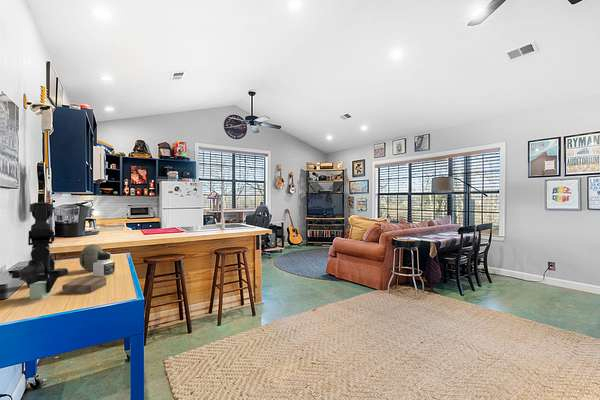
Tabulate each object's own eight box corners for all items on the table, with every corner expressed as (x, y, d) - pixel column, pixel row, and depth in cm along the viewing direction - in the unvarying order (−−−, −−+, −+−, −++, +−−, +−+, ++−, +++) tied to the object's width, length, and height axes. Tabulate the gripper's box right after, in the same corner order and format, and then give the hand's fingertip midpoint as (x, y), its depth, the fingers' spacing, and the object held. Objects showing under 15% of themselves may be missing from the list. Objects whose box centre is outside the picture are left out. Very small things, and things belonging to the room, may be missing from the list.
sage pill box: (29, 298, 123) (29, 284, 122) (39, 294, 127) (39, 281, 127) (42, 298, 123) (42, 284, 123) (51, 294, 128) (51, 281, 128)
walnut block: (62, 294, 130) (62, 285, 130) (80, 285, 142) (80, 277, 142) (91, 293, 131) (91, 284, 131) (106, 285, 143) (106, 277, 143)
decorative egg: (92, 273, 162) (92, 246, 162) (74, 272, 164) (74, 245, 164) (109, 268, 173) (109, 243, 173) (92, 267, 175) (92, 242, 175)
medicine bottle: (103, 277, 155) (104, 254, 155) (92, 276, 157) (92, 254, 157) (114, 273, 162) (115, 252, 162) (104, 272, 164) (104, 251, 164)
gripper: (-1, 261, 116) (-1, 300, 116) (49, 260, 118) (49, 299, 118) (23, 255, 127) (23, 291, 127) (69, 255, 129) (68, 290, 129)
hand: (40, 293), depth 125 cm, fingers open, 6 cm apart
